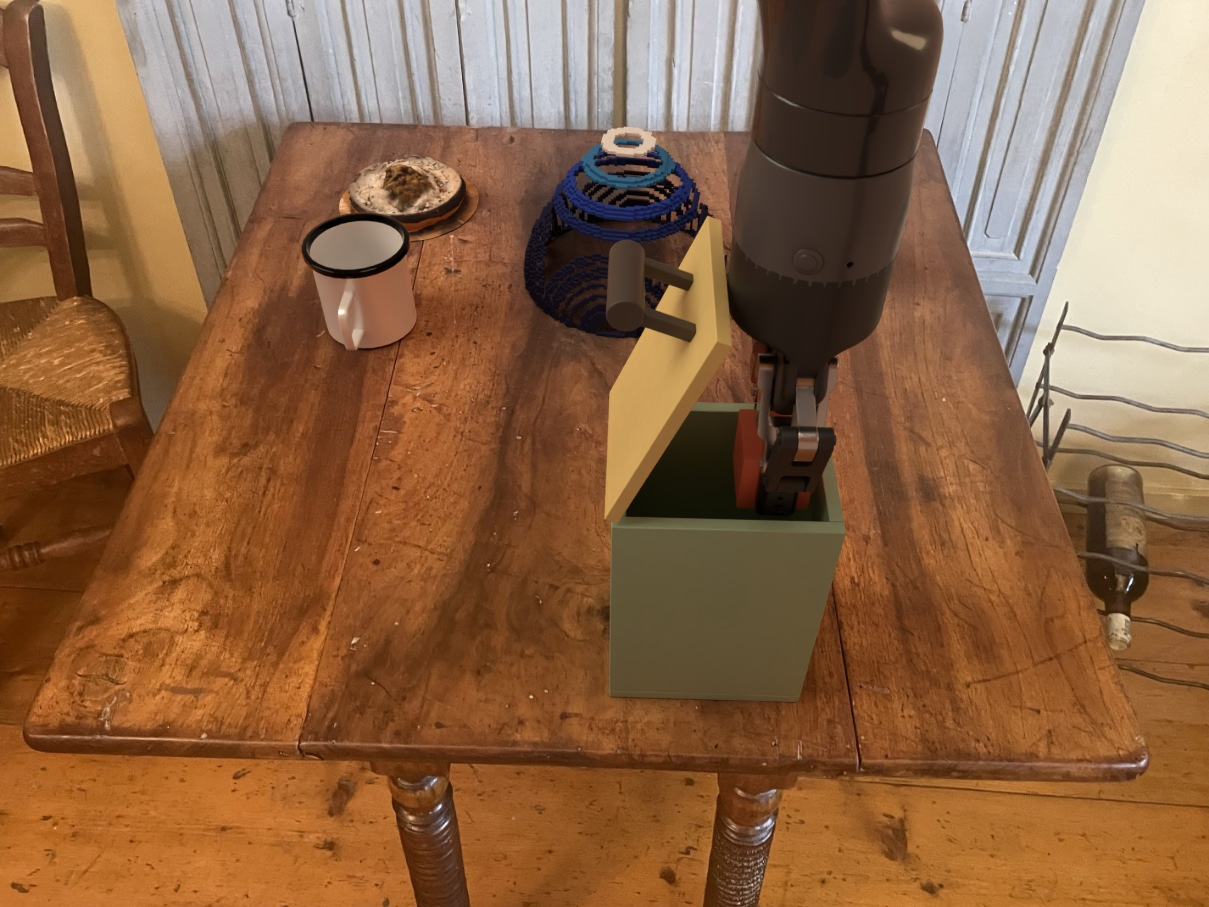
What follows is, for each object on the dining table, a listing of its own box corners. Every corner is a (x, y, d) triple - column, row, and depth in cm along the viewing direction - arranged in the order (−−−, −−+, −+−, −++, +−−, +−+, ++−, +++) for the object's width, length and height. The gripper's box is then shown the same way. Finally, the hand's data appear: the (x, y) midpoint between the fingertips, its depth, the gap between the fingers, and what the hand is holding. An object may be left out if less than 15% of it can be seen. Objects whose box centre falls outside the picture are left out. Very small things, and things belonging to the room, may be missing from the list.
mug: (335, 289, 97) (316, 209, 90) (431, 293, 96) (418, 212, 90) (302, 371, 88) (279, 289, 82) (407, 375, 88) (391, 293, 81)
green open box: (784, 580, 72) (823, 404, 60) (798, 702, 66) (846, 533, 53) (612, 576, 73) (615, 399, 60) (609, 697, 66) (610, 527, 53)
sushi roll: (502, 214, 106) (499, 180, 103) (372, 258, 100) (365, 222, 97) (442, 154, 114) (438, 121, 111) (319, 191, 109) (311, 157, 106)
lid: (721, 220, 50) (628, 185, 49) (733, 346, 44) (624, 309, 42) (621, 396, 60) (540, 370, 58) (617, 523, 53) (525, 497, 51)
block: (799, 458, 59) (810, 410, 56) (807, 509, 56) (818, 461, 53) (732, 457, 59) (739, 408, 56) (736, 508, 56) (744, 459, 53)
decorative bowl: (504, 325, 93) (491, 190, 82) (546, 210, 106) (540, 81, 96) (716, 347, 91) (731, 212, 80) (731, 226, 104) (745, 97, 94)
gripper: (930, 328, 40) (852, 582, 52) (874, 149, 50) (820, 398, 62) (744, 324, 40) (710, 578, 52) (725, 146, 50) (700, 395, 62)
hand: (770, 479), depth 57 cm, fingers closed on block, 4 cm apart
